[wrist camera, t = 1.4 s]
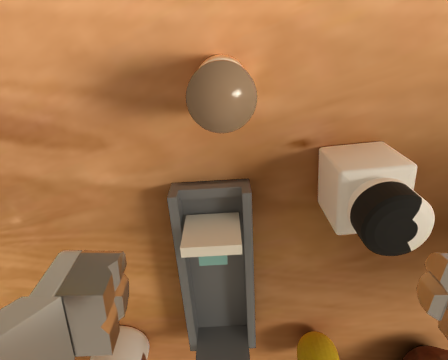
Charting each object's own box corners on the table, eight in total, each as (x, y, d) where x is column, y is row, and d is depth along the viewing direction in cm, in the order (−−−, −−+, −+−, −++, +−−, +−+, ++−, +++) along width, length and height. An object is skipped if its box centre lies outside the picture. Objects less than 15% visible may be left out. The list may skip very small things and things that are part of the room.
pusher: (238, 212, 37) (241, 244, 32) (239, 234, 39) (243, 269, 33) (186, 215, 38) (179, 248, 32) (188, 237, 39) (183, 273, 33)
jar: (247, 51, 31) (256, 58, 23) (248, 106, 33) (257, 131, 25) (192, 55, 31) (182, 63, 23) (197, 109, 34) (189, 135, 25)
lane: (248, 178, 37) (255, 214, 30) (253, 325, 47) (259, 379, 40) (171, 183, 37) (159, 220, 30) (192, 329, 47) (187, 382, 40)
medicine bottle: (316, 202, 38) (354, 269, 28) (318, 146, 35) (361, 197, 25) (376, 196, 38) (438, 262, 27) (383, 139, 35) (455, 188, 24)
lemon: (336, 326, 47) (357, 380, 40) (314, 349, 49) (331, 404, 42) (305, 314, 46) (321, 366, 39) (284, 337, 48) (296, 392, 41)
